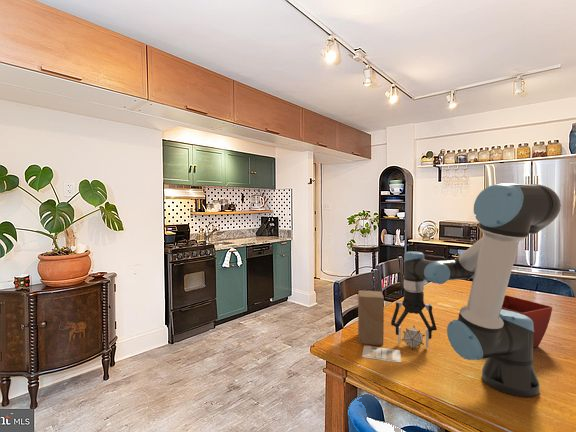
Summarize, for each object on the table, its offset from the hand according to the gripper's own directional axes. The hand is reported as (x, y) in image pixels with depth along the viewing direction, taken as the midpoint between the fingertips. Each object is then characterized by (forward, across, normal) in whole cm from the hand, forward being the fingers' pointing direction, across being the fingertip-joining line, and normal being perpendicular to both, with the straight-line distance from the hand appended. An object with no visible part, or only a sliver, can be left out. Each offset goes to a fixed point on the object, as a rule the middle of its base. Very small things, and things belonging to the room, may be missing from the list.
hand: (413, 344), depth 127 cm
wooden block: (+1, +17, -2) cm, 17 cm away
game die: (+1, 0, 0) cm, 1 cm away
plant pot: (+1, -40, -18) cm, 44 cm away
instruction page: (+1, +12, +10) cm, 16 cm away
